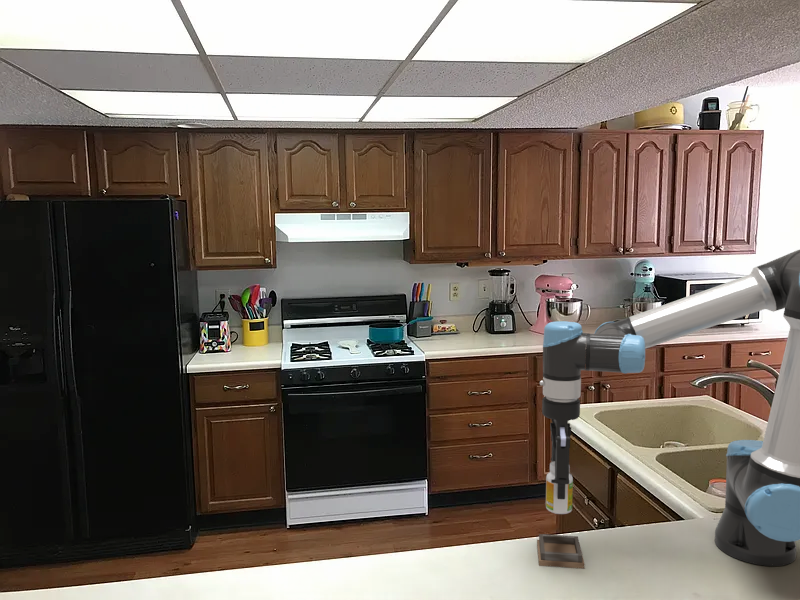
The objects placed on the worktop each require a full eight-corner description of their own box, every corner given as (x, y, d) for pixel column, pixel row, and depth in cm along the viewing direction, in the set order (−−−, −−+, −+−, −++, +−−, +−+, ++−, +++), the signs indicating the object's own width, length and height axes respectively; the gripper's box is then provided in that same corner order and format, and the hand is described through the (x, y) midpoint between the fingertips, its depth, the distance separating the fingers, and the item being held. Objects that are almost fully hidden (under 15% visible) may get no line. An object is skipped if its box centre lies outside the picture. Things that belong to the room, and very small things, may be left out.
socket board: (579, 546, 137) (579, 535, 137) (584, 568, 128) (584, 556, 128) (537, 543, 139) (537, 533, 138) (539, 565, 130) (539, 554, 130)
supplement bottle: (573, 515, 129) (574, 470, 128) (546, 513, 130) (546, 468, 129) (571, 504, 134) (572, 460, 133) (545, 502, 136) (546, 458, 134)
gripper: (540, 385, 139) (538, 486, 142) (545, 409, 121) (543, 525, 124) (575, 386, 138) (573, 488, 141) (585, 411, 120) (582, 527, 123)
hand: (559, 505), depth 132 cm, fingers closed on supplement bottle, 5 cm apart
